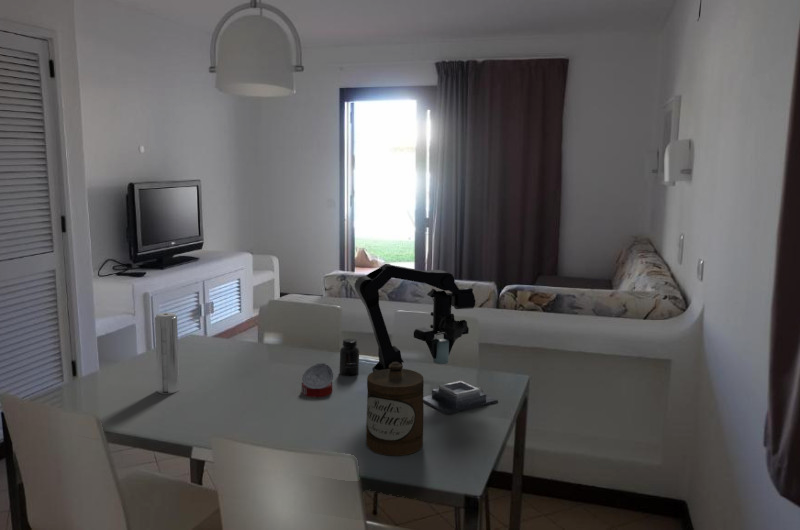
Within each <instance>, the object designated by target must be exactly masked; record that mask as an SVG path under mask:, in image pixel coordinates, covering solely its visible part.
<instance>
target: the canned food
mask: <svg viewBox="0 0 800 530" xmlns="http://www.w3.org/2000/svg"><path fill="white" fill-rule="evenodd" d="M301 380H302V382H301V394H302V395H303V396H306V397H308V398H309V397H310V398H322V397H327V396H329V395H331V394H332V393H333V380H334V373H333V369H332V367H330V365H328V364H326V363H315V364H313V365H312V366H310V367H309V368H308V369H306V370H305V371H304V373H303V374H302V379H301Z"/></svg>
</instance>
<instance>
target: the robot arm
mask: <svg viewBox="0 0 800 530" xmlns="http://www.w3.org/2000/svg"><path fill="white" fill-rule="evenodd" d="M391 279H398V280H403V281H410V282H416V283H422V284H426V285H429V286H431V287H433V288H431V290H430V291H428V293H427V294H426V295H427V296H429V297H430V298H433V306H432V307H433V308H432V309H433V311H431V312H430V316H432V324H430V325H429V327H430V328H426V327H419V328H415V329H414V331H413V338H415V339H417V340H418V341H422V342H425V343H426V345H427V347H428V349H429V352H430V354H431V357H432V359H433V358H434V359H436V355H437V343H438V342H439V339H440V338H438V336H441V335H443V339H446V340H449V355H450V354H451V352H452V350H453V349H452V348H453V346H454V344H455V342H456V341H457V340H458V339H459V338H461V337H462V336H463V335H468V334H469V331H470V329H469V327H468V321H467V320H465V319H460V320H456V319H455V313H452V307H453V308H454V309H455V310H469V309H474V308H475V306H476V299H475V298H476V297H475V294H474V292H473V291H474V289H473V288H472V287H464V288H459V287H458V285H457V284H456V282H455V277H454V275H453V273H450V272H448V271H445V270H443V269H431V270H430V269H429V270H422V269H416V268H412V267H411V268H409V267H404V266H400V265H399V266H398V265H393V264H391V263H384V264H383V265H382V266H380V267H379V268H377V269H375V270H373V271H370V272H369V273H368V274H366V275H361V276H359V277H358V278H357V279H356V280H355V282H354V289H355V291H356V292H357V293H356V294H357V295H358V297H359V298H360V300H361V302H362V303H363V305H364V307H365V310H366V312H367V316H368V319H369V322H370V325H371V327H372V330H373V334H374V337H375V340H376V343H377V346H378V349H377V350H378V355H377V356H378V361H377V363H376V364H375V366H373V367H372V372H375V371H378V370H383V369H389V365H390V364H391V363H392V362H399V363H401V364H402V369H404V368H403V367H404V366H403V364H404V363H405V362H404V360H403V358H402V353H401V350H400V349H399V348H397V346H395V345H393V344H392V341H391V339H390V335H389V331H388V329H387V325H386V322H385V320H384V316H383V314H382V311H381V310H382V309H381V307H380V293H379V290H380V289H382V288H383V287H384V286H385V285H386V284H387V283H388V282H389V281H390V280H391ZM435 288H436V289H435ZM437 289H439V290H437ZM447 291H449V292H447Z"/></svg>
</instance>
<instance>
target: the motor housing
mask: <svg viewBox="0 0 800 530" xmlns="http://www.w3.org/2000/svg"><path fill="white" fill-rule="evenodd" d="M496 403H499V400H498V399H497V398H495V397H493V396H490V395H488V394H486V393H484V390H483V388H482V387H480V386H479V387H476V386H474V385H471V384H469V383H467V382H465V381H462V380H457V381H454V382H449V383H445V384H440V385H438V388H432V389H431V394H430V395H425V396H423V404H425V405H428V406H430V407H432V408H433V409H436V410H437V411H439V412H441V413H443V414H444V415H447V416H448V415H453V414H456V413H460V412H465V411H469V410H473V409H476V408H480V407H484V406H487V405H492V404H496Z"/></svg>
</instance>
